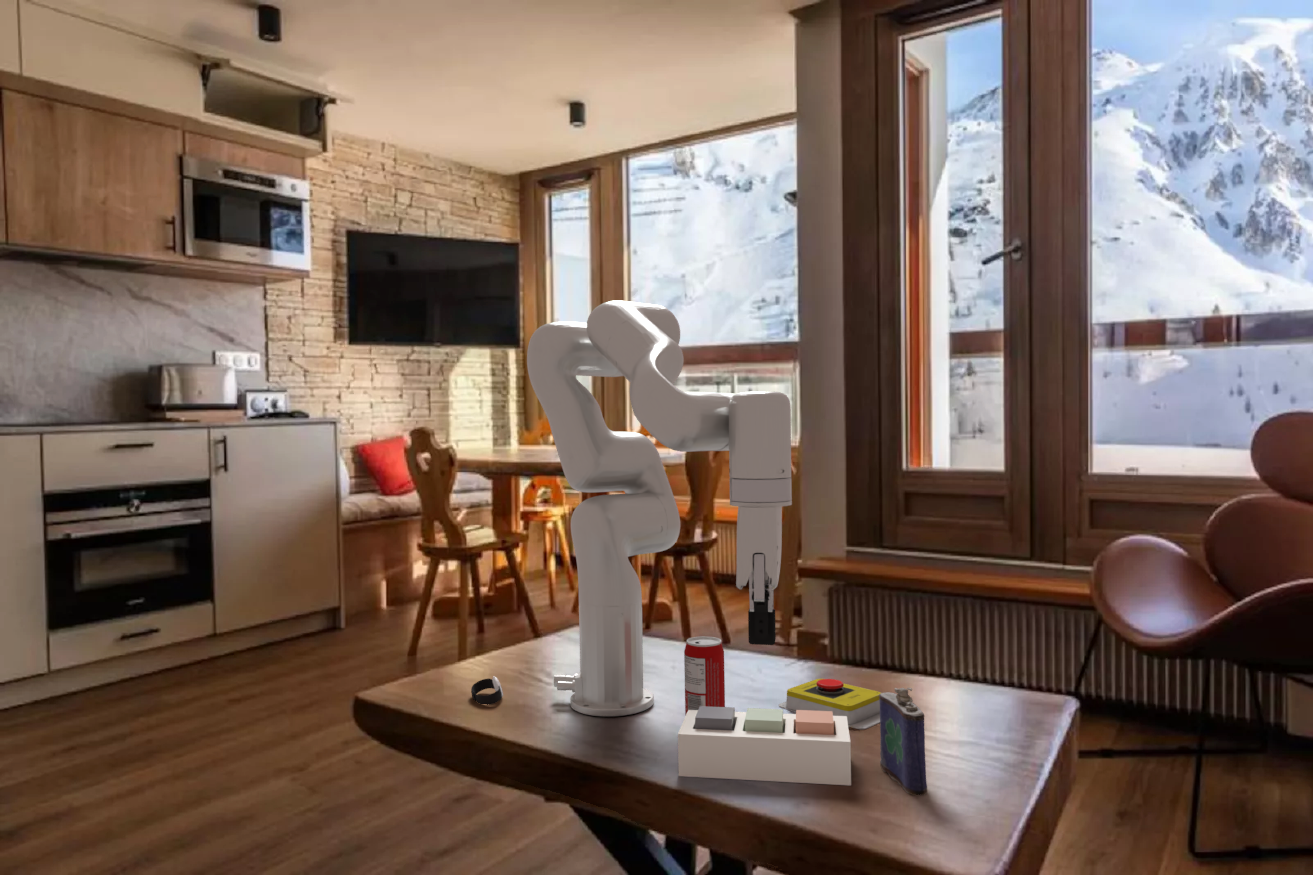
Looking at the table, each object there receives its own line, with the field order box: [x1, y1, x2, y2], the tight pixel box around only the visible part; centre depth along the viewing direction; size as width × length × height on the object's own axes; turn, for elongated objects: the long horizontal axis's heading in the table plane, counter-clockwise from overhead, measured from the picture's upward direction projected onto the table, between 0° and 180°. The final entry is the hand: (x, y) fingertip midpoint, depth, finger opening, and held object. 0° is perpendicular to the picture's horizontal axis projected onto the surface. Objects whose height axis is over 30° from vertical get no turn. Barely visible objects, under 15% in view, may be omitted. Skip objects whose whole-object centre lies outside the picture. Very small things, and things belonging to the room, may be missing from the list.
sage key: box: [745, 707, 784, 733], centre depth 103 cm, size 4×4×4 cm
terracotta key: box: [795, 710, 834, 735], centre depth 102 cm, size 4×4×4 cm
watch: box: [470, 675, 504, 706], centre depth 132 cm, size 8×5×4 cm, turn 26°
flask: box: [879, 687, 928, 796], centre depth 99 cm, size 9×3×11 cm, turn 8°
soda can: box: [683, 636, 726, 716], centre depth 119 cm, size 6×6×12 cm
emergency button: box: [778, 678, 882, 730], centre depth 124 cm, size 9×4×15 cm
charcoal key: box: [695, 706, 736, 731], centre depth 104 cm, size 4×4×4 cm
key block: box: [677, 710, 852, 786], centre depth 103 cm, size 20×9×5 cm, turn 80°
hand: (762, 642), depth 103 cm, fingers closed
